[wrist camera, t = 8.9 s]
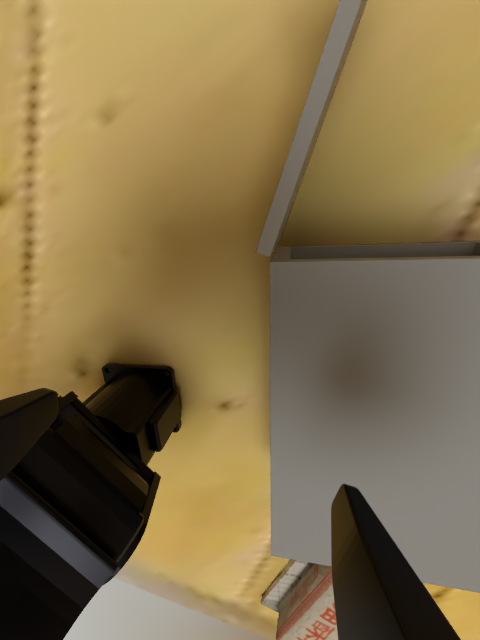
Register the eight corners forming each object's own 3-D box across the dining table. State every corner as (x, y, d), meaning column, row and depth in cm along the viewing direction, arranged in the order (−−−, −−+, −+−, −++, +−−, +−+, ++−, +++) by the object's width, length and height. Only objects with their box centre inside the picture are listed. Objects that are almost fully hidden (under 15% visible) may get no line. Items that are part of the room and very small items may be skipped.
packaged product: (347, 695, 27) (255, 650, 27) (339, 628, 32) (261, 590, 32) (468, 613, 20) (345, 556, 21) (437, 543, 25) (335, 496, 25)
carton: (277, 453, 24) (271, 555, 17) (278, 246, 18) (269, 262, 11) (427, 469, 22) (496, 596, 14) (482, 240, 16) (645, 255, 9)
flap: (278, 243, 18) (257, 274, 7) (264, 238, 18) (222, 261, 7) (365, 5, 13) (662, -881, 3) (345, 0, 13) (558, -885, 3)
